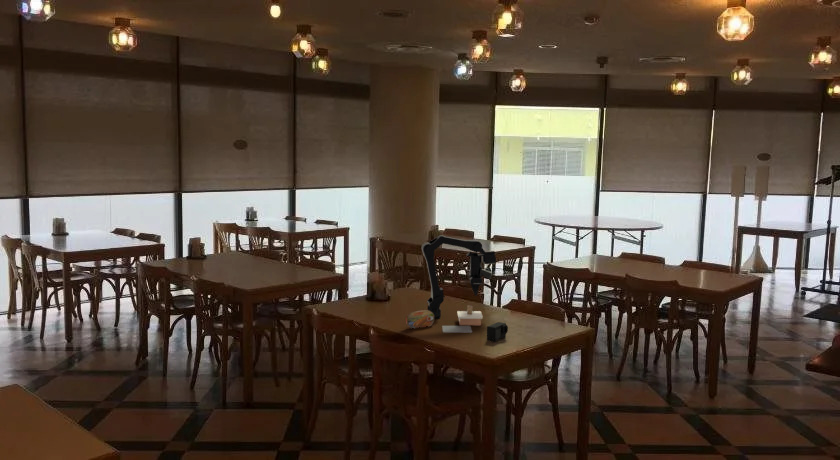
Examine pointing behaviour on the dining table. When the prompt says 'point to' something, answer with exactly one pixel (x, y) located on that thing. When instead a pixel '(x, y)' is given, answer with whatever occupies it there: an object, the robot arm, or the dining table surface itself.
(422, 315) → the tin
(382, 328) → the dining table surface
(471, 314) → the lid
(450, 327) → the mat
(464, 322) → the dish
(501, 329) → the digital camera
